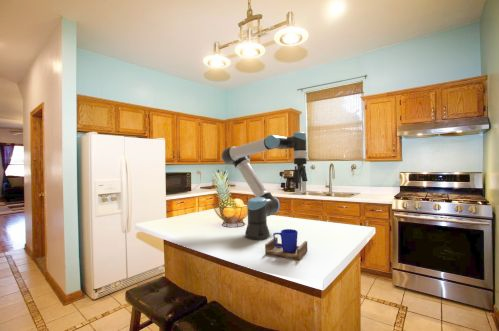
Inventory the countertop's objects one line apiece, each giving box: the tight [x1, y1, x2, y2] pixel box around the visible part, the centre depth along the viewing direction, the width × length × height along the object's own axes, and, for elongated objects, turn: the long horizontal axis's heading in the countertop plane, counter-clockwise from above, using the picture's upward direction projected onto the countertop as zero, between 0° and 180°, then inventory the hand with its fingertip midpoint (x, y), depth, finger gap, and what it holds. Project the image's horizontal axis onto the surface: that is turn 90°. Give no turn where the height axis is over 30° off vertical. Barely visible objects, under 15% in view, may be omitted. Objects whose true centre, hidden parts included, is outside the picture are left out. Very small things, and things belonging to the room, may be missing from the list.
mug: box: [272, 228, 298, 253], centre depth 124 cm, size 8×12×10 cm
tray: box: [264, 236, 308, 261], centre depth 125 cm, size 17×13×5 cm
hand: (300, 192), depth 151 cm, fingers open, 13 cm apart
